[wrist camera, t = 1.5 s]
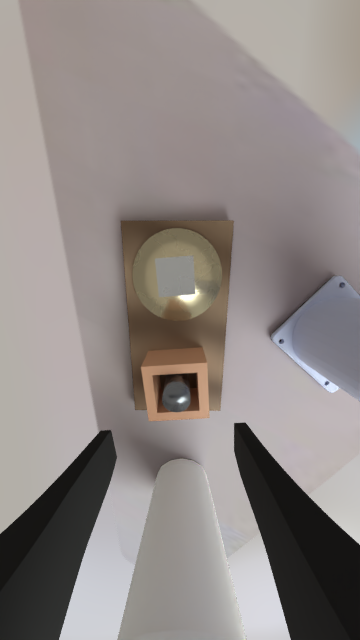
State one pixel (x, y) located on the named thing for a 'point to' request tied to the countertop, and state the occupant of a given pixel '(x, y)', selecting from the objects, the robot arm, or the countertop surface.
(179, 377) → the stand rod
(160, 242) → the hub
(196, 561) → the foam cup
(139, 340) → the jig board
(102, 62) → the countertop surface
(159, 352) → the collar
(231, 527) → the countertop surface
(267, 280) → the countertop surface
